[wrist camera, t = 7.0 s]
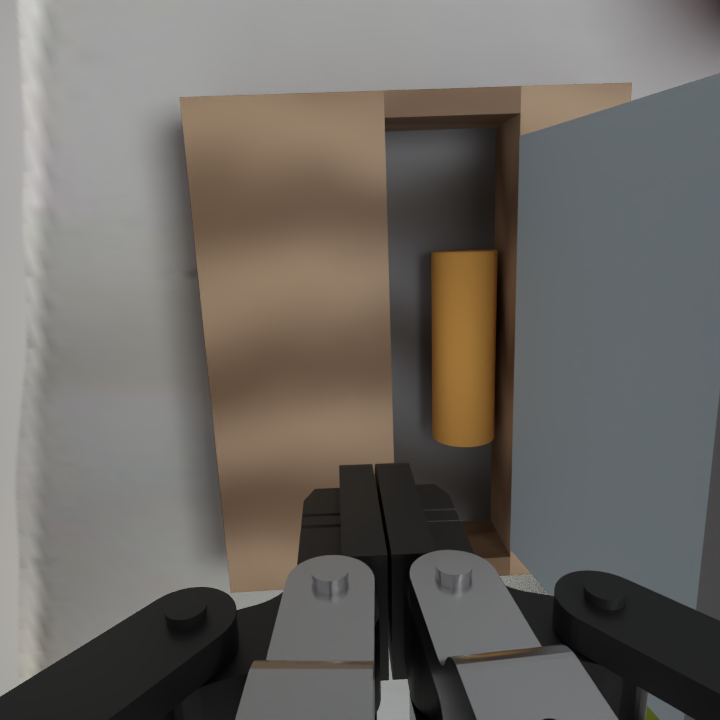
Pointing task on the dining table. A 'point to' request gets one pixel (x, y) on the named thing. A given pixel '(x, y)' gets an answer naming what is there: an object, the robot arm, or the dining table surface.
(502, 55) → the dining table surface
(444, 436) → the tall orange dowel
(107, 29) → the dining table surface
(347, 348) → the wooden tray
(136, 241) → the dining table surface
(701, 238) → the cover
